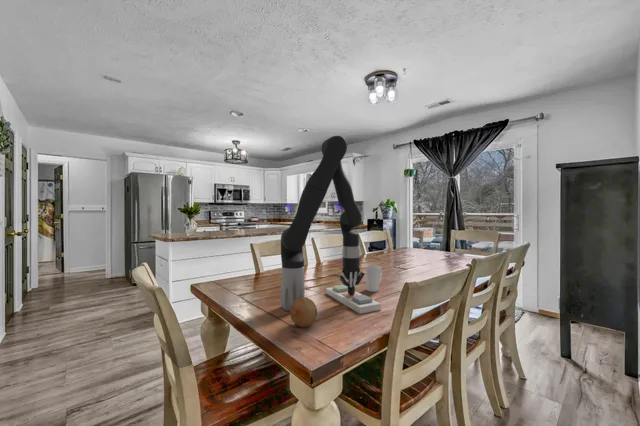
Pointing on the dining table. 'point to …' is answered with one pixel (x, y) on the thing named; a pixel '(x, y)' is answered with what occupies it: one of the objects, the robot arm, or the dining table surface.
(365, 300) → the grey button
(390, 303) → the dining table surface
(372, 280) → the mug
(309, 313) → the onion
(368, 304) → the button panel
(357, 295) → the terracotta button
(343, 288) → the green button
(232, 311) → the dining table surface
